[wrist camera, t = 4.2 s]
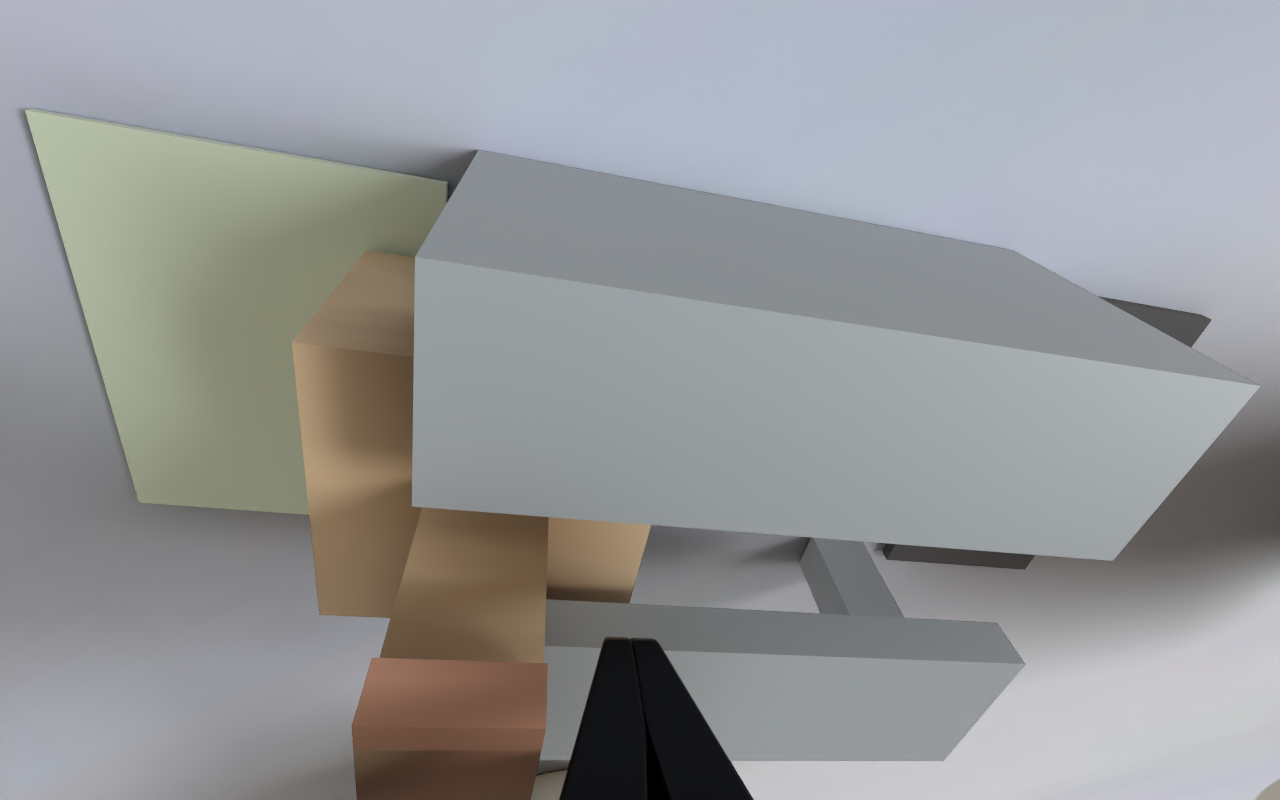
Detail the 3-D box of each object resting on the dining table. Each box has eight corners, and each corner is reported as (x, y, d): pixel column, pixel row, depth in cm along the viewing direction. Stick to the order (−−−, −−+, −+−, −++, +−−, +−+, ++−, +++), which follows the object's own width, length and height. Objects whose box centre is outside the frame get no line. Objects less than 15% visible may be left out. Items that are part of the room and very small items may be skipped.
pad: (448, 181, 12) (446, 184, 12) (435, 518, 17) (433, 523, 17) (33, 108, 11) (24, 110, 11) (143, 497, 15) (138, 502, 15)
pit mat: (1201, 314, 16) (1211, 320, 15) (1018, 562, 20) (1024, 569, 20) (1034, 285, 15) (1041, 290, 14) (882, 552, 19) (886, 559, 19)
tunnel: (1013, 250, 14) (1260, 386, 9) (846, 565, 19) (943, 760, 14) (478, 149, 12) (415, 257, 7) (454, 538, 17) (408, 759, 12)
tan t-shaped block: (658, 294, 13) (767, 631, 6) (610, 501, 16) (645, 886, 9) (366, 250, 12) (82, 599, 5) (372, 481, 15) (203, 903, 8)
